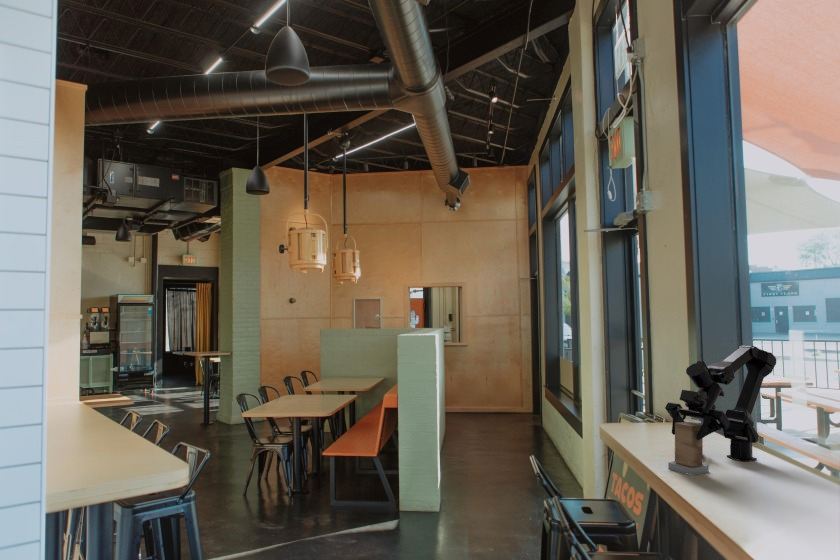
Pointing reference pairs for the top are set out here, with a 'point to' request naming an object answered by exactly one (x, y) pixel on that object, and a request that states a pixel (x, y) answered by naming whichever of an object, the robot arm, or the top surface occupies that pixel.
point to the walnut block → (688, 444)
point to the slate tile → (688, 468)
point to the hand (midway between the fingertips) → (684, 436)
